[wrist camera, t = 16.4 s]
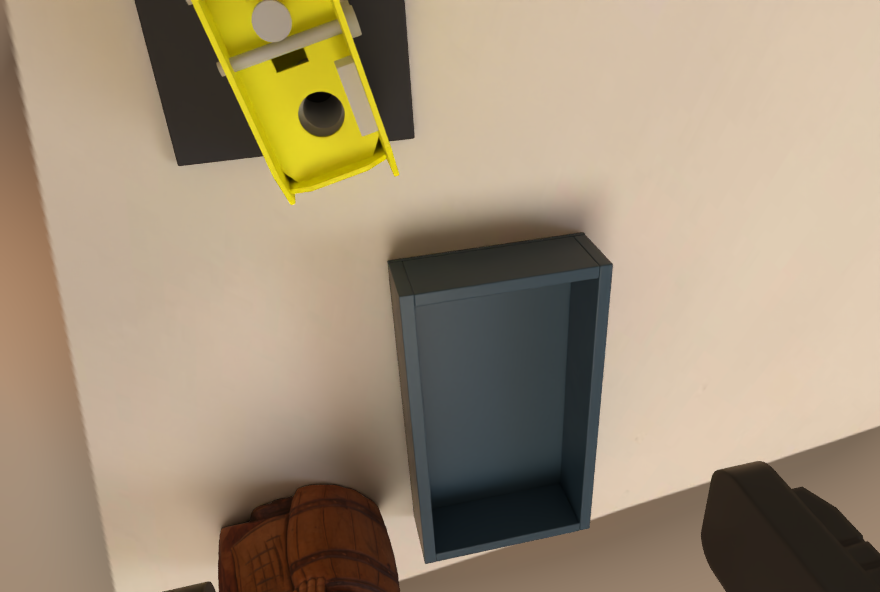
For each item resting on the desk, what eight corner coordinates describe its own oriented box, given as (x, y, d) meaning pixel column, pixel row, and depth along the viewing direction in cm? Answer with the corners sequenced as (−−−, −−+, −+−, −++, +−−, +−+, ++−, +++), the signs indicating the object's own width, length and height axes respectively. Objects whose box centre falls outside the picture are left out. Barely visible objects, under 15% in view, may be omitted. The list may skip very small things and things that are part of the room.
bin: (414, 516, 50) (425, 564, 47) (387, 260, 39) (398, 297, 36) (567, 485, 52) (590, 528, 49) (583, 232, 41) (613, 263, 38)
